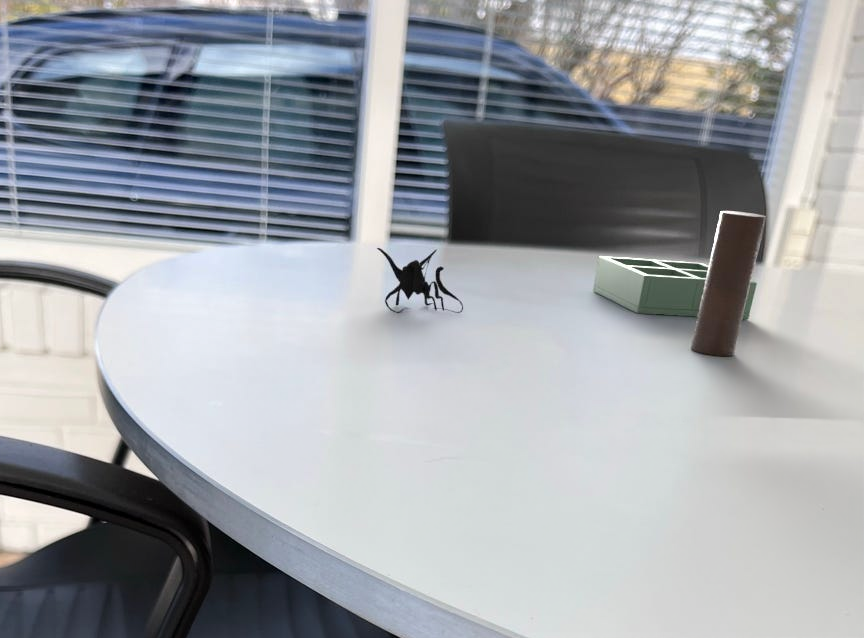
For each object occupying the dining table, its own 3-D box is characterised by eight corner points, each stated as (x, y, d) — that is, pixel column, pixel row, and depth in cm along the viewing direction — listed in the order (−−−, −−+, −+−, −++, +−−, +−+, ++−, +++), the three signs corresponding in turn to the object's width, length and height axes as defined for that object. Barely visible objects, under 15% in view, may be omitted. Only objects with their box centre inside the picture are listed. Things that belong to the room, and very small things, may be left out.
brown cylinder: (721, 347, 92) (752, 212, 87) (741, 357, 89) (774, 218, 84) (683, 345, 91) (712, 209, 86) (702, 355, 88) (733, 214, 83)
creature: (473, 329, 95) (435, 292, 101) (488, 270, 92) (447, 235, 97) (396, 329, 92) (360, 291, 97) (408, 269, 89) (370, 233, 94)
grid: (695, 297, 117) (702, 263, 115) (748, 319, 107) (757, 282, 105) (592, 290, 114) (598, 255, 113) (637, 313, 104) (644, 275, 102)
